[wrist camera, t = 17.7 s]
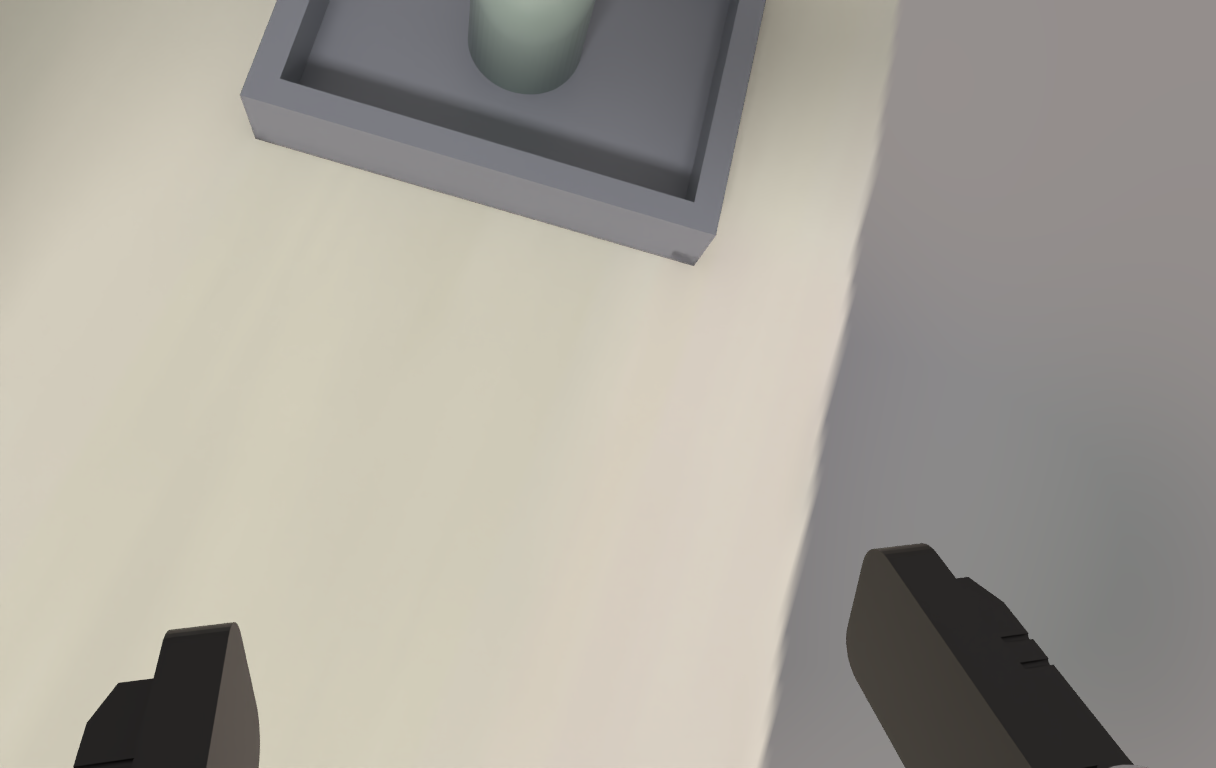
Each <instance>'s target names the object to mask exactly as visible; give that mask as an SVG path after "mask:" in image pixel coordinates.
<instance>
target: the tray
mask: <svg viewBox="0 0 1216 768" xmlns="http://www.w3.org/2000/svg"><path fill="white" fill-rule="evenodd" d="M765 2H766V0H595V4H594V8H593V12H592V15H591V19H590V23H589V27H588V31H587V35H586V38H585V42H584V46H583V50H582V54H581V58H580V61H579V64H578V67H577V69H576V70H575V72H574V74H573V75H572V76H571V77H570V78H569V79H568V80H567V81H566V82H565V83H564V84H563V85H561V86H560V87H558V88H556V89H554V90H551V91H549V92H545V93H541V94H520V93H515V92H511V91H508V90H505V89H503V88H501V87H499V86H497V85H495V84H494V83H492V82H491V81H490V80H488V79H487V78H486V77H485V76H484V75H483V74H482V73H481V72H480V71H479V69H478V68H477V66H476V65H475V63H474V61H473V59H472V57H471V54H470V51H469V47H468V27H469V11H470V0H277V2H276V4H275V7H274V9H273V12H272V15H271V17H270V20H269V22H268V25H267V27H266V30H265V32H264V35H263V38H262V40H261V43H260V45H259V48H258V50H257V53H256V55H255V58H254V61H253V63H252V66H251V68H250V71H249V73H248V76H247V78H246V81H245V83H244V86H243V89H242V91H241V94H240V96H241V99H242V102H243V105H244V108H245V110H246V113H247V116H248V119H249V122H250V124H251V127H252V130H253V133H254V135H255V138H256V139H259V140H263V141H266V142H269V143H273V144H276V145H280V146H283V147H287V148H290V149H294V150H297V151H300V152H304V153H307V154H311V155H314V156H318V157H321V158H324V159H328V160H331V161H335V162H338V163H342V164H345V165H349V166H352V167H355V168H359V169H362V170H366V171H369V172H373V173H376V174H380V175H383V176H386V177H390V178H393V179H397V180H400V181H404V182H407V183H411V184H414V185H417V186H421V187H424V188H428V189H431V190H435V191H438V192H441V193H445V194H448V195H452V196H455V197H459V198H462V199H466V200H469V201H472V202H476V203H479V204H483V205H486V206H490V207H493V208H497V209H500V210H503V211H507V212H510V213H514V214H517V215H521V216H524V217H528V218H531V219H534V220H538V221H541V222H545V223H548V224H552V225H555V226H558V227H562V228H565V229H569V230H572V231H576V232H579V233H583V234H586V235H589V236H593V237H596V238H600V239H603V240H607V241H610V242H614V243H617V244H620V245H624V246H627V247H631V248H634V249H638V250H641V251H645V252H648V253H651V254H655V255H658V256H662V257H665V258H669V259H672V260H675V261H679V262H682V263H686V264H689V265H693V266H694V265H695V263H696V262H697V261H698V259H699V258H700V256H701V255H702V254H703V252H704V251H705V250H706V248H707V247H708V245H709V244H710V243H711V241H712V240H713V239H714V237H715V236H716V232H717V227H718V222H719V218H720V213H721V208H722V204H723V199H724V194H725V190H726V185H727V180H728V175H729V171H730V166H731V161H732V157H733V152H734V147H735V143H736V138H737V133H738V129H739V124H740V119H741V114H742V110H743V105H744V100H745V96H746V91H747V86H748V82H749V77H750V72H751V68H752V63H753V58H754V53H755V49H756V44H757V39H758V35H759V30H760V25H761V21H762V16H763V11H764V7H765Z"/></svg>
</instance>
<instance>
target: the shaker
mask: <svg viewBox="0 0 1216 768" xmlns="http://www.w3.org/2000/svg"><path fill="white" fill-rule="evenodd" d="M594 4H595V0H470V11H469V27H468V47H469V51H470V54H471V57H472V59H473V61H474V63H475V65H476V66H477V68H478V69H479V71H480V72H481V73H482V74H483V75H484V76H485V77H486V78H487V79H488V80H490V81H491V82H492V83H494V84H495V85H497V86H499V87H501V88H503V89H505V90H508V91H511V92H515V93H520V94H541V93H545V92H549V91H551V90H554V89H556V88H558V87H560V86H561V85H563V84H564V83H565V82H566V81H567V80H568V79H569V78H570V77H571V76H572V75H573V74H574V72H575V70H576V69H577V67H578V64H579V61H580V58H581V54H582V50H583V46H584V42H585V38H586V35H587V31H588V27H589V23H590V19H591V15H592V12H593V8H594Z"/></svg>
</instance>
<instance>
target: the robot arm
mask: <svg viewBox="0 0 1216 768" xmlns="http://www.w3.org/2000/svg"><path fill="white" fill-rule="evenodd" d="M846 645H847V653H848V658H849V662H850V666H851V669H852V671H853V674H854V676H855V678H856V680H857V682H858V684H859V685H860V687H861V689H862V691H863V692H864V694H865V696H866V698H867V700H868V702H869V703H870V705H871V707H872V709H873V711H874V712H875V714H876V716H877V718H878V720H879V721H880V723H881V725H882V727H883V728H884V730H885V732H886V734H887V735H888V737H889V739H890V741H891V743H892V745H893V746H894V748H895V750H896V752H897V754H898V755H899V757H900V759H901V761H902V763H903V764H904V766H905V768H1147V767H1143V766H1137V765H1134V764H1133V763H1132V762H1131V761H1130V760H1129V759H1128V757H1127V756H1126V755H1125V754H1124V752H1123V751H1122V750H1121V749H1120V747H1119V746H1118V745H1117V744H1116V742H1115V741H1114V740H1113V739H1112V737H1111V736H1110V735H1109V734H1108V732H1107V731H1106V730H1105V729H1104V728H1103V726H1102V725H1101V724H1100V722H1099V721H1098V720H1097V719H1096V717H1095V716H1094V715H1093V714H1092V713H1091V711H1090V710H1089V709H1088V708H1087V706H1086V705H1085V704H1084V703H1083V701H1082V700H1081V699H1080V697H1079V696H1078V695H1077V694H1076V692H1075V691H1074V690H1073V689H1072V687H1071V686H1070V685H1069V684H1068V682H1067V681H1066V680H1065V679H1064V677H1063V676H1062V675H1061V674H1060V672H1059V671H1058V670H1057V669H1056V667H1055V666H1054V665H1050V664H1049V662H1048V657H1047V656H1046V655H1045V654H1044V652H1043V651H1042V650H1041V648H1040V647H1039V646H1038V645H1037V643H1036V642H1035V641H1034V640H1033V639H1031V640H1030V639H1029V638H1028V632H1027V631H1026V630H1025V629H1024V627H1023V626H1022V625H1021V624H1020V622H1019V621H1018V620H1017V618H1016V617H1015V616H1014V615H1013V614H1012V612H1011V611H1010V610H1009V608H1008V607H1007V606H1006V605H1005V604H1004V602H1002V601H1001V600H1000V599H998V598H997V597H996V596H994V595H993V594H991V593H990V592H988V591H987V590H986V589H984V588H983V587H981V586H980V585H978V584H977V583H976V582H974V581H973V580H972V579H970V578H969V577H965V578H957V579H956V578H955V577H954V575H953V574H952V573H951V571H950V570H949V569H948V567H947V566H946V565H945V563H944V562H943V561H942V560H941V558H940V557H939V556H938V554H937V553H936V552H935V551H934V549H932V548H931V547H930V546H929V545H927V544H923V543H920V544H912V545H904V546H895V547H887V548H878V549H871V550H870V551H868V552H867V554H866V556H865V558H864V560H863V564H862V568H861V572H860V577H859V581H858V585H857V590H856V594H855V598H854V602H853V606H852V611H851V615H850V619H849V623H848V627H847V634H846ZM259 754H260V732H259V718H258V711H257V705H256V701H255V696H254V692H253V687H252V683H251V678H250V673H249V669H248V664H247V660H246V655H245V651H244V646H243V641H242V637H241V633H240V629H239V626H238V625H237V623H236V622H233V623H224V624H216V625H207V626H199V627H191V628H182V629H174V630H169V631H167V633H166V634H165V637H164V639H163V643H162V647H161V651H160V655H159V659H158V663H157V667H156V671H155V675H154V679H146V680H138V681H130V682H122V683H118V684H117V685H116V687H115V688H114V689H113V691H112V692H111V693H110V694H109V696H108V697H107V698H106V699H105V701H104V702H103V703H102V704H101V706H100V707H99V708H98V709H97V711H96V712H95V713H94V715H93V716H92V717H91V718H90V720H89V721H88V722H87V724H86V727H85V730H84V734H83V737H82V740H81V743H80V747H79V750H78V753H77V756H76V760H75V763H74V766H73V767H74V768H258V767H259Z"/></svg>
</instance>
